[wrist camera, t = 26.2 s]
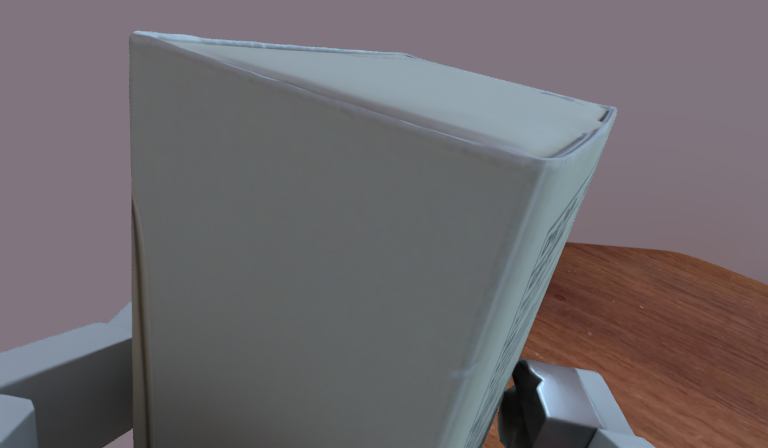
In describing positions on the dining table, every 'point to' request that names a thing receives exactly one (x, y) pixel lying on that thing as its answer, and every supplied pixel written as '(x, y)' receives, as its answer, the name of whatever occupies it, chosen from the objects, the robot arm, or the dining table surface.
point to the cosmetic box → (338, 241)
